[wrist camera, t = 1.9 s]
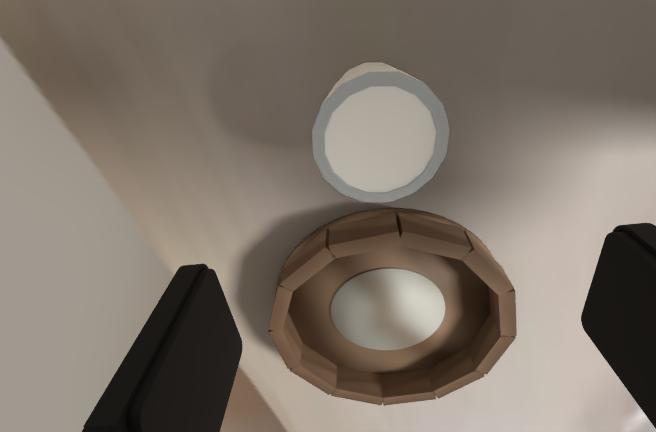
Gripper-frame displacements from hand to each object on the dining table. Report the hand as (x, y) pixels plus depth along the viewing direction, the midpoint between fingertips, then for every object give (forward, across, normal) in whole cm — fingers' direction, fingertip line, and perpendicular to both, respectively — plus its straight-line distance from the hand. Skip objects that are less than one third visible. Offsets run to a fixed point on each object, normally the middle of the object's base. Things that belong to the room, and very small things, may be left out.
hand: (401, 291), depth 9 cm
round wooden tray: (+17, 0, +18) cm, 25 cm away
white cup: (+18, 0, 0) cm, 18 cm away
